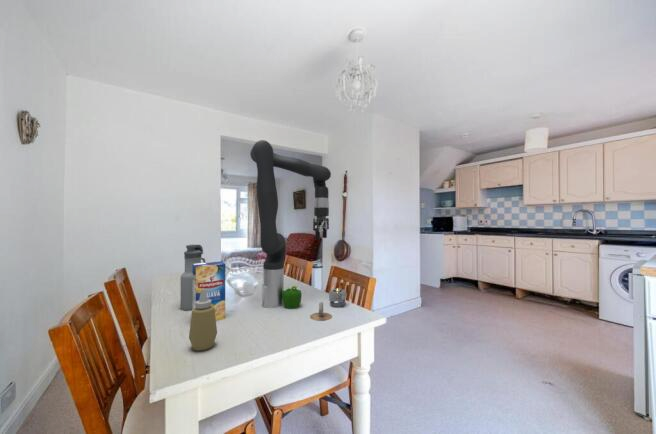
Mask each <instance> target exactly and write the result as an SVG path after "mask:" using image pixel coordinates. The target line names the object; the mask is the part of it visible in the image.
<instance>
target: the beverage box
mask: <svg viewBox="0 0 656 434" xmlns="http://www.w3.org/2000/svg"><path fill="white" fill-rule="evenodd" d="M192 265H193V290H192V310H193V309H194V308H195V302H196V301H198V300H199V298H200V294H201V290H202V289H205V290H206V294H207V298H208V299H210V300H211V306H213V307H214V308H215V317H216V321H218V320H219V321H221V320H223V319H224V320H225V319H226V263H225V262H222V261H211V262H205V263H203V262H201V263H198V264H192ZM192 310H191V311H192Z"/></svg>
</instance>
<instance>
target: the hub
mask: <svg viewBox="0 0 656 434" xmlns="http://www.w3.org/2000/svg"><path fill="white" fill-rule="evenodd" d="M335 289H336V292H340V289H341V288H338V287H336V288H335ZM329 306H330V307H332V308H337V309H339V308H345V307H346V299H345V300H344V301H343V302H335V301H329Z"/></svg>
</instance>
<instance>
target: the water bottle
mask: <svg viewBox="0 0 656 434" xmlns="http://www.w3.org/2000/svg"><path fill="white" fill-rule="evenodd" d="M185 249H186V250H185V251H184V252H183V253H184V272H183V273H182V274H181V275H180V309H181V310H183V311H192V290H193V265H192V264H198V263H206V259H205V258H204V257H202V255H203V254H204V249H203V246H202V245H201V244H188V245H185ZM202 261H203V262H202Z"/></svg>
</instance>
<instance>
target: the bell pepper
mask: <svg viewBox="0 0 656 434" xmlns="http://www.w3.org/2000/svg"><path fill="white" fill-rule="evenodd" d="M297 288H298V286H297V285H293V286H292V287H291V288H289V287H288V288H287V289H284V291H283V293H282V299H283V303H284V305H283V306H284V308H285V309H290V310H291V309H298V308H299V307H300V305H301V301H302V290H300V289H297Z"/></svg>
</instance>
